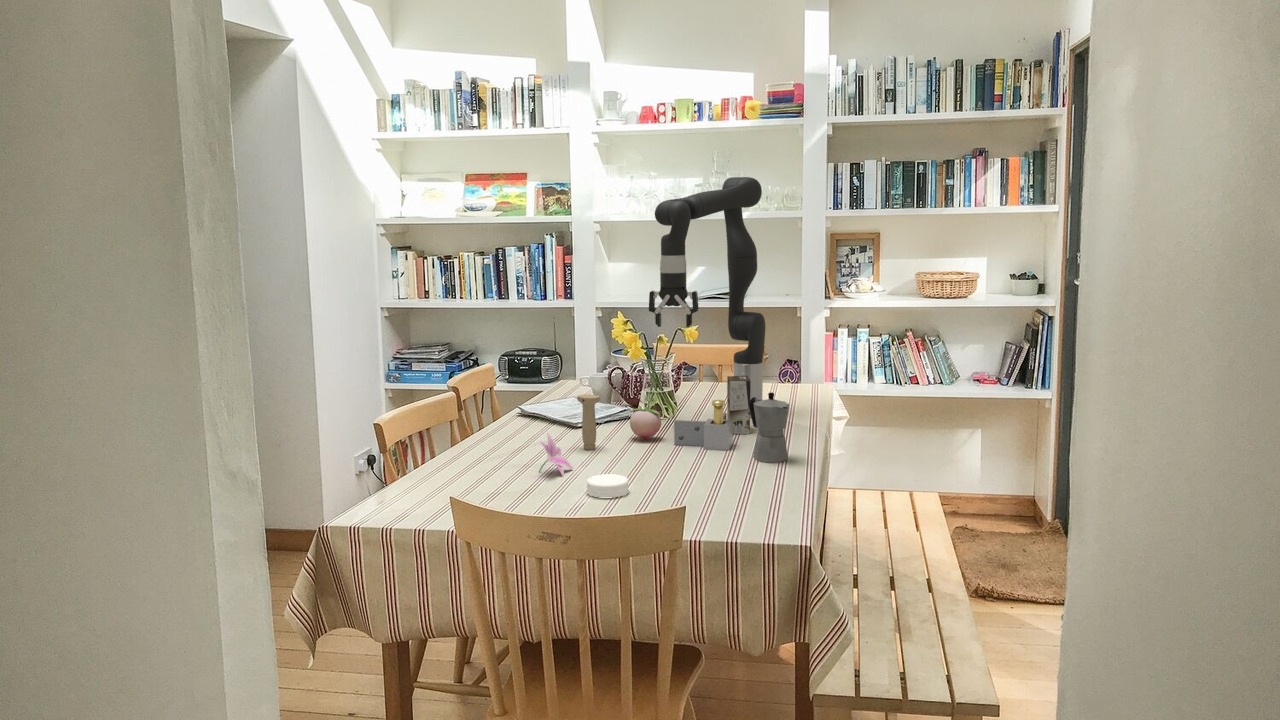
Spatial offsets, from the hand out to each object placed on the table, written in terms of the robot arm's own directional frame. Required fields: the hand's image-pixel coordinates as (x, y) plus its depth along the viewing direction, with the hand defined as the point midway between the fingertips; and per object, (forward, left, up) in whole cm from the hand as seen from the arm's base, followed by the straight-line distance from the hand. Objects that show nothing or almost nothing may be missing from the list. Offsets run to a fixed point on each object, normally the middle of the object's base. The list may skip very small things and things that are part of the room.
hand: (673, 326), depth 282 cm
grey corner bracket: (+8, +10, -32) cm, 35 cm away
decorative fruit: (+8, -7, -32) cm, 34 cm away
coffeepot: (+21, +30, -32) cm, 49 cm away
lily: (+46, -22, -32) cm, 61 cm away
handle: (+21, -20, -32) cm, 43 cm away
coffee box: (-8, +18, -32) cm, 38 cm away
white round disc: (+60, -4, -33) cm, 68 cm away
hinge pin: (+12, +15, -32) cm, 37 cm away
